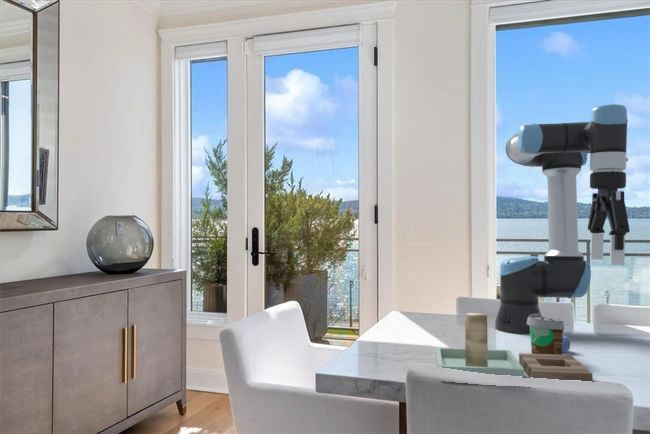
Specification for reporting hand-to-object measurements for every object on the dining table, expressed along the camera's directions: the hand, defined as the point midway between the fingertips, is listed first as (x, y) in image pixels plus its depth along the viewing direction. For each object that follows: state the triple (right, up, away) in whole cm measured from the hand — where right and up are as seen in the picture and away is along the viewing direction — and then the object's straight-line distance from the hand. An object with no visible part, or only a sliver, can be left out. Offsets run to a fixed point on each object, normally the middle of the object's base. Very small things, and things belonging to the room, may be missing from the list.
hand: (606, 262), depth 125 cm
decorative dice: (-3, -26, +18) cm, 32 cm away
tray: (-31, -25, -1) cm, 40 cm away
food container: (-10, -26, +13) cm, 31 cm away
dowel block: (-14, -25, -4) cm, 29 cm away
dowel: (-31, -24, -1) cm, 39 cm away
